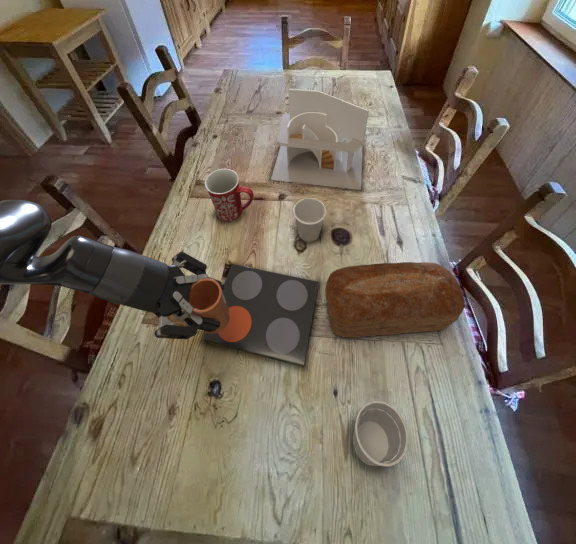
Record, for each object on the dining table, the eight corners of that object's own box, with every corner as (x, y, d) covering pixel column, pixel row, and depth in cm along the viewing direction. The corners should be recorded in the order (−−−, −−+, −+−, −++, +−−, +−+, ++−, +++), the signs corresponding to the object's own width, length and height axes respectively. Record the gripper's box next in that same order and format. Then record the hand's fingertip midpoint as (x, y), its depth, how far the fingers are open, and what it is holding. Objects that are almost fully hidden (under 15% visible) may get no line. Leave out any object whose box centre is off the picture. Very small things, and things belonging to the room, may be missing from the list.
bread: (320, 290, 81) (323, 259, 71) (436, 281, 82) (455, 249, 72) (328, 344, 73) (332, 318, 63) (457, 334, 73) (482, 306, 63)
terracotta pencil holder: (223, 337, 62) (213, 315, 55) (193, 330, 63) (180, 307, 56) (234, 306, 66) (226, 282, 59) (206, 299, 67) (195, 275, 60)
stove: (303, 367, 70) (303, 364, 69) (204, 341, 74) (202, 338, 73) (318, 284, 82) (318, 281, 81) (232, 266, 86) (231, 263, 85)
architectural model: (270, 179, 107) (264, 120, 91) (283, 136, 122) (280, 79, 106) (361, 189, 103) (372, 129, 87) (362, 143, 118) (372, 85, 102)
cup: (338, 441, 61) (344, 430, 53) (366, 404, 65) (376, 388, 57) (375, 486, 57) (387, 482, 48) (402, 443, 61) (418, 433, 52)
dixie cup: (315, 215, 97) (316, 193, 90) (330, 238, 91) (332, 216, 84) (288, 226, 94) (287, 204, 87) (302, 250, 89) (302, 228, 82)
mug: (208, 221, 96) (198, 190, 87) (221, 197, 103) (213, 165, 93) (250, 230, 94) (244, 199, 84) (261, 205, 100) (256, 174, 91)
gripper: (126, 319, 45) (228, 345, 54) (153, 228, 56) (235, 261, 64) (103, 335, 49) (202, 356, 58) (132, 247, 59) (212, 276, 68)
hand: (219, 306), depth 61 cm, fingers closed on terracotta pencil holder, 6 cm apart
